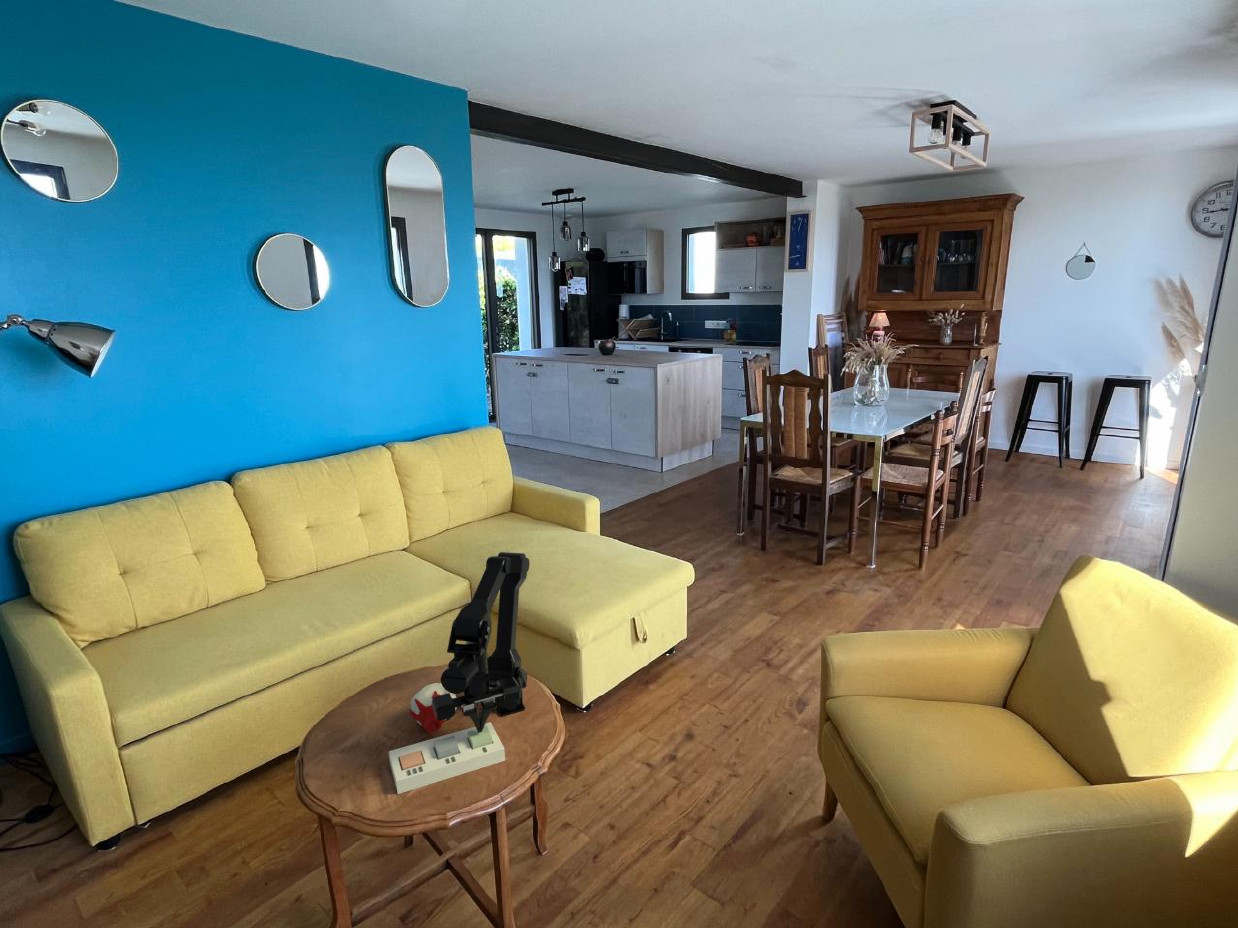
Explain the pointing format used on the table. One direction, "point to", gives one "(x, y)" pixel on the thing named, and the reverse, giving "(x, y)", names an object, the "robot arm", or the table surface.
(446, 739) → the slate tile
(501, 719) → the table surface
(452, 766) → the button board
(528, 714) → the table surface
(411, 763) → the terracotta tile
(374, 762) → the table surface
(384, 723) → the table surface
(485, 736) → the sage tile
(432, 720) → the red irregular piece
